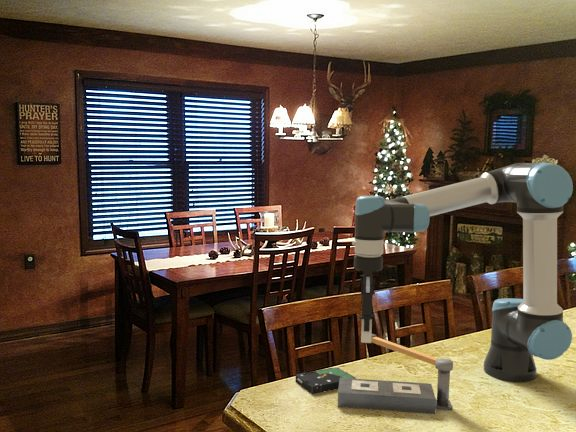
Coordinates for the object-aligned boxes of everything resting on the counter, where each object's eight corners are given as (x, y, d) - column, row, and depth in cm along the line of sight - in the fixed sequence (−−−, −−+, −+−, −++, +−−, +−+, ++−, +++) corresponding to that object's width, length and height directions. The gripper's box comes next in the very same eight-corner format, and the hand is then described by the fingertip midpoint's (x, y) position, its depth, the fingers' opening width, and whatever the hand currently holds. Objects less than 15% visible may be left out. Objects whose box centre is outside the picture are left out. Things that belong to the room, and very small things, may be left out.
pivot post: (449, 403, 147) (451, 367, 146) (452, 410, 143) (453, 373, 142) (432, 402, 148) (434, 366, 147) (435, 409, 143) (436, 372, 142)
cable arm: (456, 369, 144) (456, 361, 143) (445, 372, 141) (446, 365, 141) (373, 339, 167) (373, 333, 167) (363, 342, 164) (363, 335, 164)
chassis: (430, 397, 150) (431, 381, 150) (435, 414, 140) (435, 397, 140) (339, 391, 154) (339, 375, 153) (337, 406, 144) (338, 390, 143)
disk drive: (312, 396, 151) (356, 386, 158) (312, 387, 151) (356, 377, 158) (294, 383, 161) (337, 374, 167) (294, 374, 160) (337, 365, 167)
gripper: (354, 250, 151) (352, 333, 153) (353, 258, 138) (351, 349, 140) (382, 251, 150) (379, 335, 152) (383, 259, 137) (381, 350, 139)
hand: (366, 341), depth 146 cm, fingers closed
